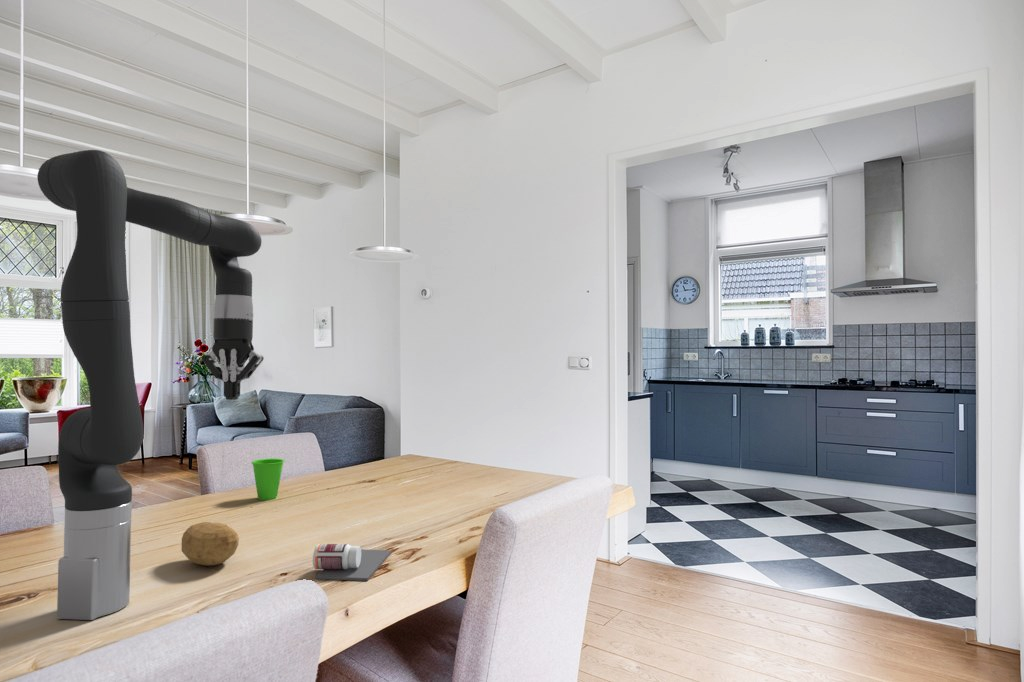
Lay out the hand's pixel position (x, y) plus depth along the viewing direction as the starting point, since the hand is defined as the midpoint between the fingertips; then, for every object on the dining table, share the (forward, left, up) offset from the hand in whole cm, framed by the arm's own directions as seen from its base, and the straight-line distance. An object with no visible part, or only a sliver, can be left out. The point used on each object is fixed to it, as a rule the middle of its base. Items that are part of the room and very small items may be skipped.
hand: (232, 399), depth 125 cm
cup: (+50, +17, -33) cm, 62 cm away
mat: (-2, -28, -33) cm, 43 cm away
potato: (-4, +2, -33) cm, 34 cm away
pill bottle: (-6, -21, -30) cm, 37 cm away
